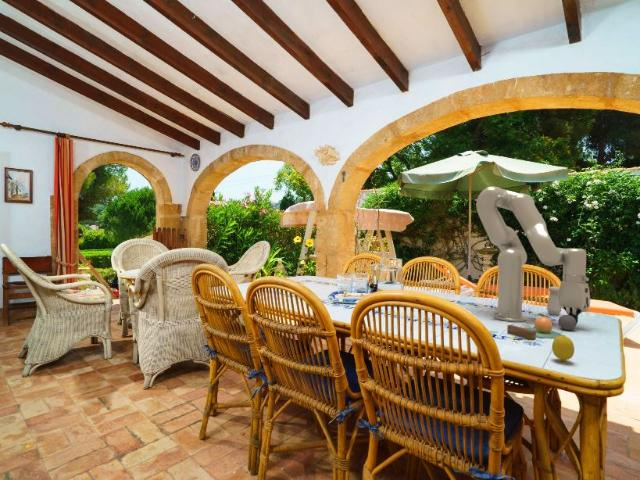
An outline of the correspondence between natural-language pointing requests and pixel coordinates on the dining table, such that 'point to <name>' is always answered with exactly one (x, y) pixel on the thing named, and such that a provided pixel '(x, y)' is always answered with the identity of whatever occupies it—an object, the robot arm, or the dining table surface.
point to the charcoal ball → (567, 322)
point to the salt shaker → (553, 301)
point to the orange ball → (543, 324)
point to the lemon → (563, 348)
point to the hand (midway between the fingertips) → (572, 324)
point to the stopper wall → (521, 332)
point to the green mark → (545, 335)
